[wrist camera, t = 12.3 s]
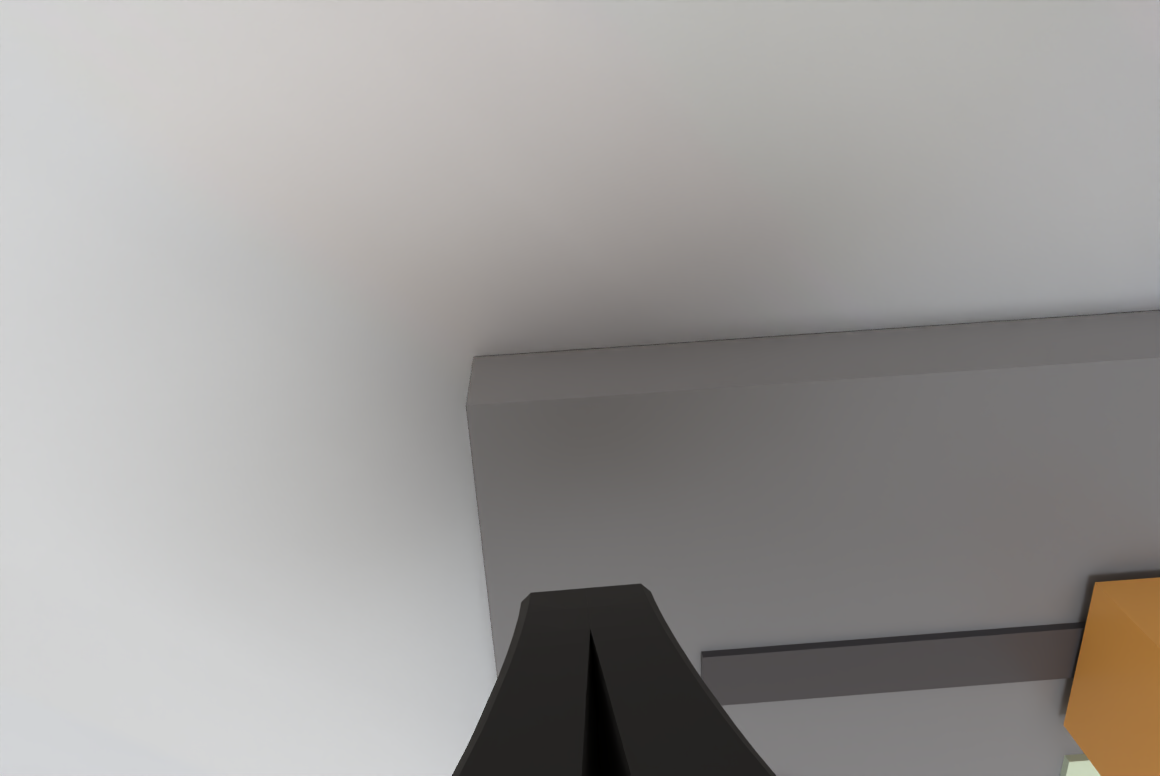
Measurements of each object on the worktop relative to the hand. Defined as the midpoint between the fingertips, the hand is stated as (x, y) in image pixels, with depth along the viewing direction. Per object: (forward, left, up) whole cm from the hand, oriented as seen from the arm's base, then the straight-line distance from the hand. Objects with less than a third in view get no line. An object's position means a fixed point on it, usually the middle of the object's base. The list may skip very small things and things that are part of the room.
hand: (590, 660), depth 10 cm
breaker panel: (-7, +7, -10) cm, 14 cm away
